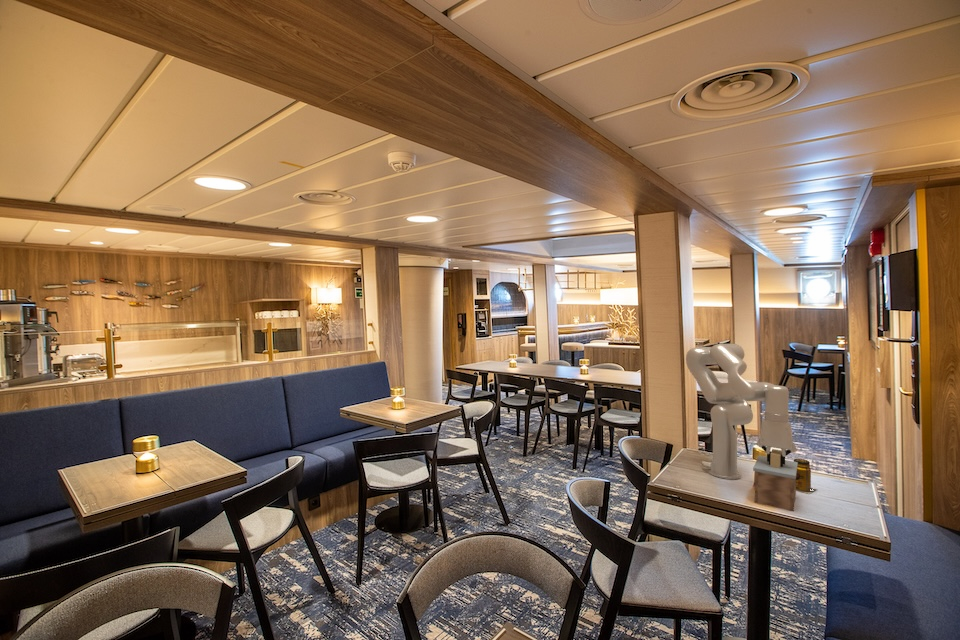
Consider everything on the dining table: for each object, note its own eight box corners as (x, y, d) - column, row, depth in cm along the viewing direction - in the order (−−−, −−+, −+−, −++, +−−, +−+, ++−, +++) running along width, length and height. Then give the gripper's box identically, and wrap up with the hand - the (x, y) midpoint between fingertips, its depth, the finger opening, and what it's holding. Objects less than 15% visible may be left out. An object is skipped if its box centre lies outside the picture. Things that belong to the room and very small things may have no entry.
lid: (753, 473, 163) (753, 454, 163) (758, 460, 178) (758, 443, 178) (795, 481, 155) (795, 462, 155) (797, 467, 170) (797, 449, 170)
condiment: (788, 488, 178) (788, 459, 178) (796, 484, 182) (797, 455, 182) (809, 494, 172) (809, 464, 171) (817, 490, 176) (818, 460, 176)
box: (754, 502, 164) (754, 470, 164) (759, 487, 178) (760, 458, 178) (793, 511, 156) (793, 478, 156) (795, 495, 170) (796, 465, 170)
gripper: (750, 416, 169) (749, 462, 169) (802, 422, 159) (801, 472, 159) (752, 412, 175) (752, 458, 175) (803, 419, 165) (802, 467, 165)
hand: (775, 464), depth 167 cm, fingers closed on lid, 3 cm apart
